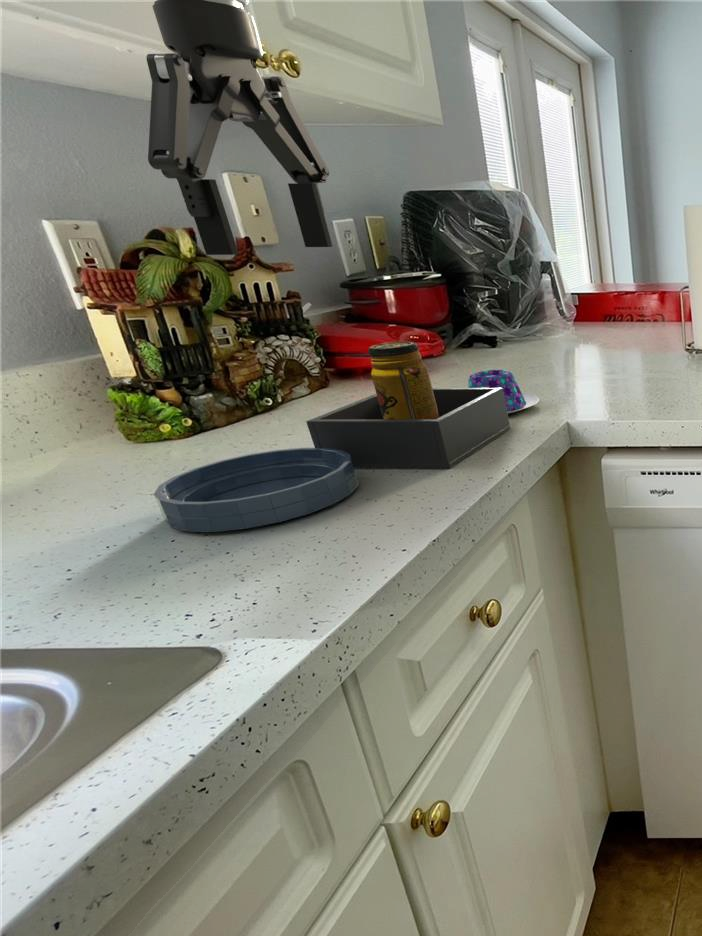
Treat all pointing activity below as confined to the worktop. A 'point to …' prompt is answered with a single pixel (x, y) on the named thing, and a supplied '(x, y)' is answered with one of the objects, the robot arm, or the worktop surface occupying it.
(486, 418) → the bin
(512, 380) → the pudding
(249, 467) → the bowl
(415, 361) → the condiment
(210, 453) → the worktop surface
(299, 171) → the robot arm
